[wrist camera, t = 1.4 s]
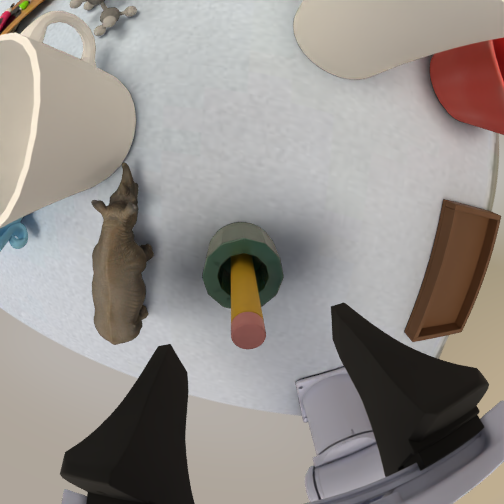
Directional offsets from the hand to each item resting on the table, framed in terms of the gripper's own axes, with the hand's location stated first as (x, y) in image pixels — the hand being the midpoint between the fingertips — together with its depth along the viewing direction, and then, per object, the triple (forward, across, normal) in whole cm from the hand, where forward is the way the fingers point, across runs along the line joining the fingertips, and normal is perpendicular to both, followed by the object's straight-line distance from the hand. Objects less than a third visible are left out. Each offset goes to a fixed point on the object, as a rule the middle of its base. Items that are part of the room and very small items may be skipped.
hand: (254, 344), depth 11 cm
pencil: (+10, 0, +1) cm, 10 cm away
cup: (+12, -12, -15) cm, 23 cm away
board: (+12, +17, -30) cm, 37 cm away
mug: (+12, +9, -14) cm, 20 cm away
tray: (+10, -22, +9) cm, 26 cm away
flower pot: (+11, -24, -11) cm, 29 cm away
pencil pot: (+11, 0, +1) cm, 11 cm away
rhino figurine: (+11, +8, -2) cm, 14 cm away
